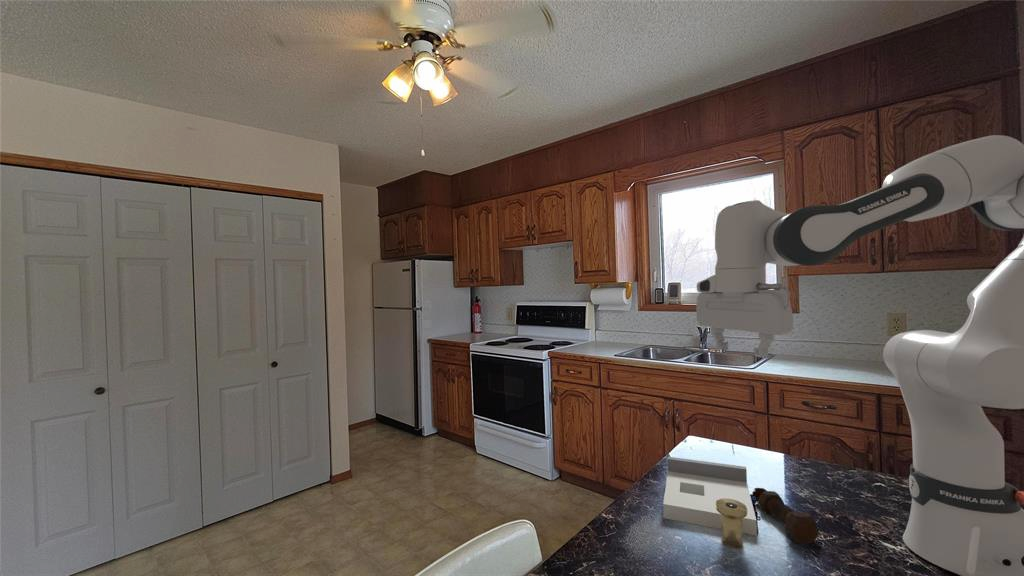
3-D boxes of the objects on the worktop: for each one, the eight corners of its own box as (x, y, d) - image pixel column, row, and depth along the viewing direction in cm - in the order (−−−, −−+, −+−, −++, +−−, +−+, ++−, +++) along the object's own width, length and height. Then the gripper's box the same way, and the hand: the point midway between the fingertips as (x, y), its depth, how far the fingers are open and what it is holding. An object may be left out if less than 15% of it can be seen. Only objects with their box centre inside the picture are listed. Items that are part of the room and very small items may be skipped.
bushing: (746, 537, 80) (745, 501, 80) (749, 553, 75) (748, 514, 75) (716, 531, 82) (715, 496, 82) (717, 547, 77) (716, 509, 77)
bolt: (762, 510, 93) (810, 550, 78) (742, 499, 93) (785, 537, 78) (774, 487, 93) (824, 523, 78) (754, 476, 93) (800, 509, 78)
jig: (746, 492, 97) (745, 466, 97) (756, 535, 81) (756, 504, 81) (668, 480, 104) (667, 456, 104) (663, 518, 87) (662, 489, 87)
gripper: (802, 283, 74) (802, 360, 74) (714, 283, 93) (714, 345, 94) (775, 283, 72) (775, 363, 72) (690, 284, 92) (691, 346, 92)
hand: (740, 353), depth 83 cm, fingers open, 8 cm apart
